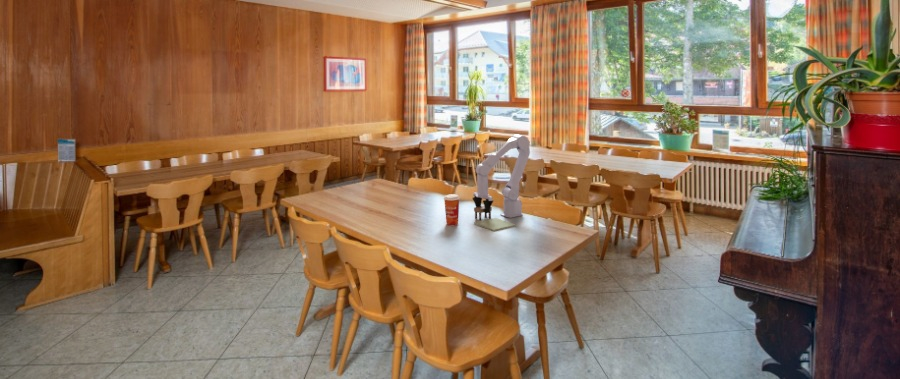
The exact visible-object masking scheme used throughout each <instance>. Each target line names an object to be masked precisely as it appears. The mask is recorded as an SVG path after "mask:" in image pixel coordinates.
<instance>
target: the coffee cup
mask: <svg viewBox="0 0 900 379" xmlns="http://www.w3.org/2000/svg"><path fill="white" fill-rule="evenodd" d="M443 200H444V211H445V212H444V213H445V220H446V225H447V226H450V225H454V226H458V225H459V214H460V213H459V212H460V210H459V209H460V196H459V195H458V194H454V193H453V194H452V193H451V194H446V195H444V197H443Z"/></svg>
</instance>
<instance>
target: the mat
mask: <svg viewBox="0 0 900 379" xmlns="http://www.w3.org/2000/svg"><path fill="white" fill-rule="evenodd" d="M474 225H475V226H480V227H482V228H484V229H486V230H489V231H493V232H497V231H500V230H505V229H509V228H514V227H516V225H517V224H515V223H513V222H512V223H511V222H509V221H506V220H503V219H500V218H497V217H494V218H488V219H484V220H478V221H476V222H474Z"/></svg>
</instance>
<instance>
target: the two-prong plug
mask: <svg viewBox="0 0 900 379" xmlns="http://www.w3.org/2000/svg"><path fill="white" fill-rule="evenodd" d="M492 207H493V206H491V207H490V211H489V213H485V207H484V205H481V206H480V207H476V206H475V207H473V211H474V219H476V220H477V219H478V221H482V213H484V218H487V217H488V219H492Z"/></svg>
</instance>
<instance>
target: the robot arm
mask: <svg viewBox="0 0 900 379" xmlns="http://www.w3.org/2000/svg"><path fill="white" fill-rule="evenodd" d="M530 142H531V141H530V140H529V139H528V137H527V136H525V135H521V134H518V133H516V134H513V135H512V136H511V137H510V138H508V140H507V141H506V142H505V143H504V144H503V145H502V146H501V147H500V148H499V149H498V150H497V151H496V152H495V153H491V154H488V155H487V157H486V158H485V159H484V160H483V161H481V163H479V164H477V165H476V168H475V169H474V170H475V173H476V174H477V175H476V181H477V182H476V188H477V189H476V190H477V191H475V192H473V196H472V200H473V202H474V205H475V207H480V206H482V203H483V206H484V207H485V212H484V214H485V213H487V214H489V211H490V207H492V205H493V203H494V200H493V196H491V195H490V194H489V174H490V172H491V170H492V169H493V168H494V167H495V166H496V165H497V164H499V163H500V159H501V158H502V157H503V156H504V155H505V154H507V153H508V152H509V151H511V150H512V149H516V150H517V151H518V155H517V159H516V160H515V164H514V167H513V169H512V173H511V175H510V179H509V181H507V183H506V184H505V186H504V187H503V188H502V190H501V191H502V192H501V193H502V196H503V213H500V216H503V217H505V218H509V219H511V218H515V217H519V216H523V213H522V212H523V211H522V209H523V207H522V206H523V204H522V203H523V202H522V200H521V199H520V198H519V196H520V183H521V182H520V181H521V179H522V176H523V174H524V171H525V168H526V165H527V164H528V160H529V157H530V154H531V151H530ZM483 199H484V200H483Z"/></svg>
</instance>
